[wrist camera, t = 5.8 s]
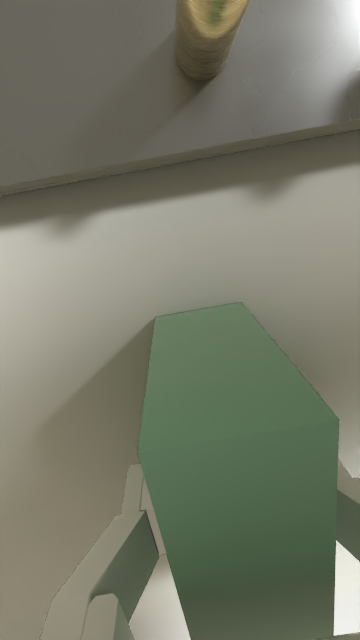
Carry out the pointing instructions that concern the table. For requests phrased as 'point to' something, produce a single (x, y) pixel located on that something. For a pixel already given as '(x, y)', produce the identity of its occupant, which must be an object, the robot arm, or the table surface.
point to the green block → (240, 478)
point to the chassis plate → (167, 82)
